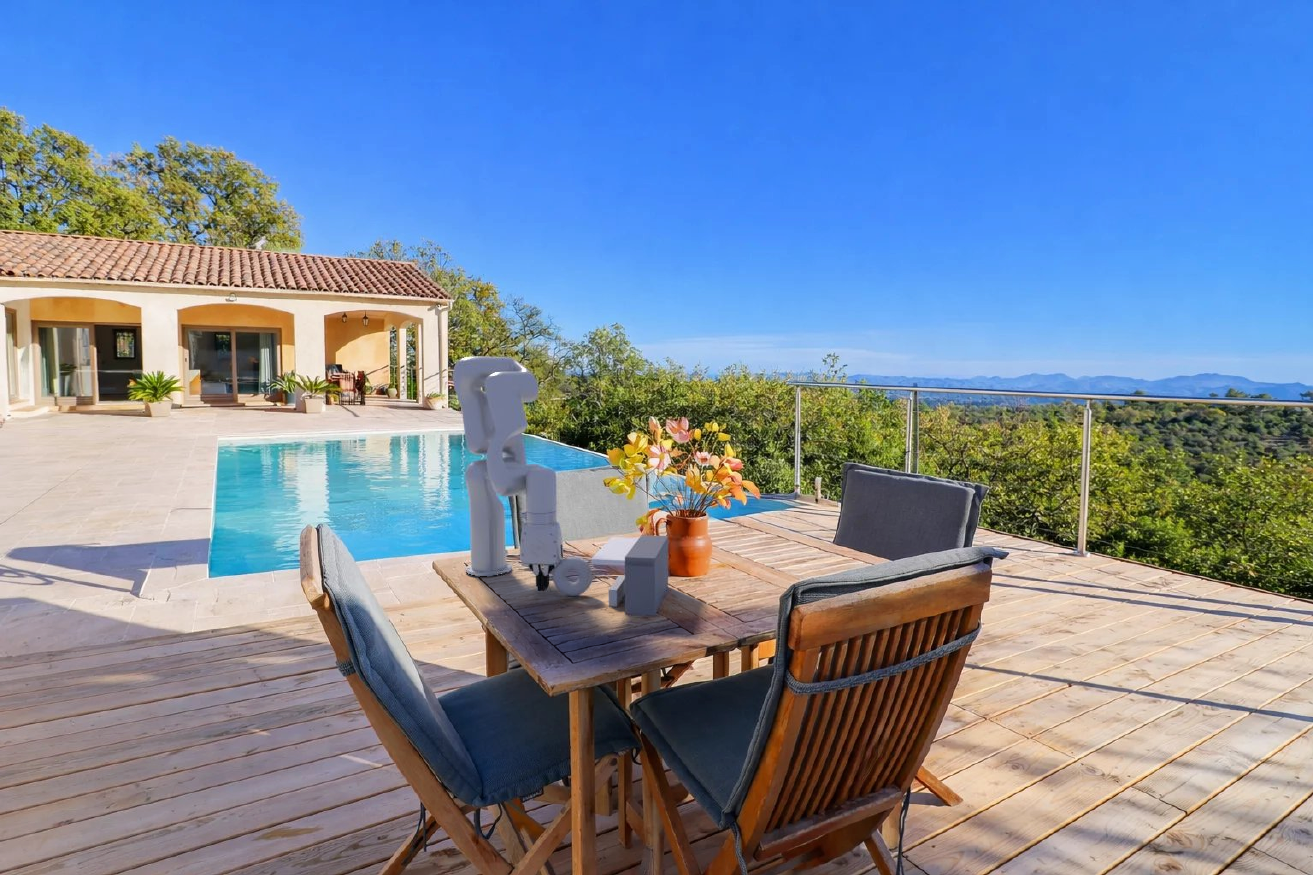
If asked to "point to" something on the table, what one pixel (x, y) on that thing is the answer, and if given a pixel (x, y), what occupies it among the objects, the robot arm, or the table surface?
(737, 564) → the table surface
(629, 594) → the ledge cabinet
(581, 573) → the donut
